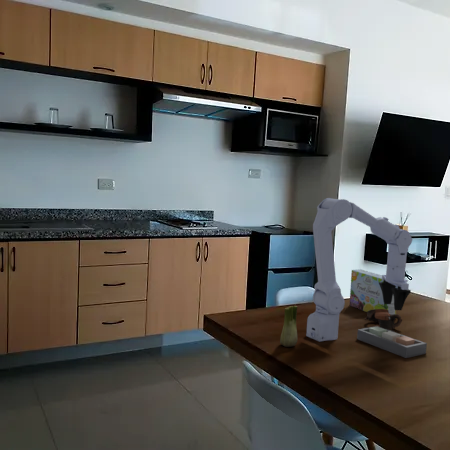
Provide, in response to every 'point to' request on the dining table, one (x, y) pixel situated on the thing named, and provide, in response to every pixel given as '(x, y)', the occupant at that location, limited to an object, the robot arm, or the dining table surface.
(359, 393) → the dining table surface
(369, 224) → the robot arm
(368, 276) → the snack box
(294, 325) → the fennel bulb
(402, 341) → the key
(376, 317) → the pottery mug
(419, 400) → the dining table surface
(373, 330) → the key
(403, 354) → the grey rectangular tray
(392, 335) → the key mid
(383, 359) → the dining table surface
